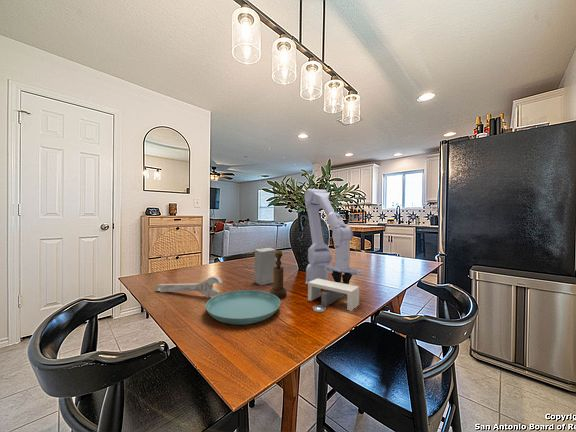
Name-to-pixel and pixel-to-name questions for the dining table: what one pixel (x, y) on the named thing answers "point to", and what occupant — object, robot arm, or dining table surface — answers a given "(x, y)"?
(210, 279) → the wrench
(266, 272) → the skincare box
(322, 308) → the steel disc
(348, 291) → the low bench
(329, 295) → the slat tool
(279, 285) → the pepper mill
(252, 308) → the saucer
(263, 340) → the dining table surface
